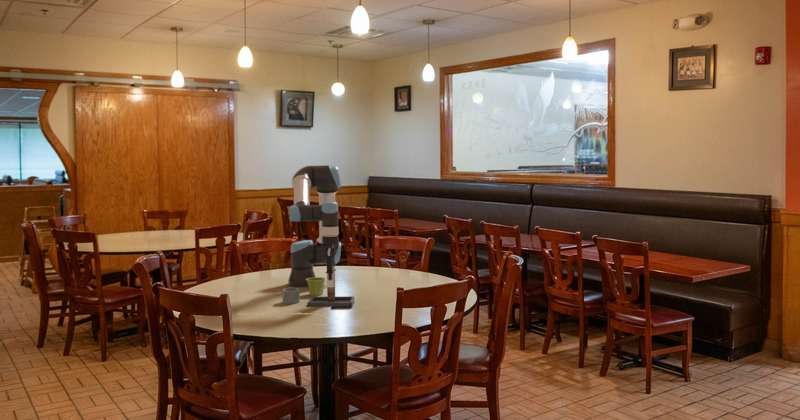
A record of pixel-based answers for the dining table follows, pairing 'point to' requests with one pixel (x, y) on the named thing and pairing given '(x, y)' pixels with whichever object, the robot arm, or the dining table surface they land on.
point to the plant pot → (315, 285)
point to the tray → (339, 302)
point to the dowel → (331, 290)
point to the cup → (291, 295)
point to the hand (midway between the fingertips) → (331, 286)
